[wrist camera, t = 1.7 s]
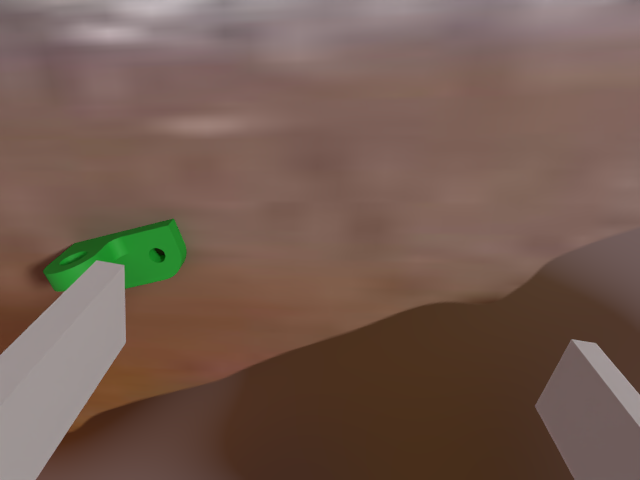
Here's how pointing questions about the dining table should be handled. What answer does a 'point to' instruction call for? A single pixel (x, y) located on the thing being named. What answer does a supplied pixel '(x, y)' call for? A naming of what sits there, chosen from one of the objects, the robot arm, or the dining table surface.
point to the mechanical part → (123, 255)
